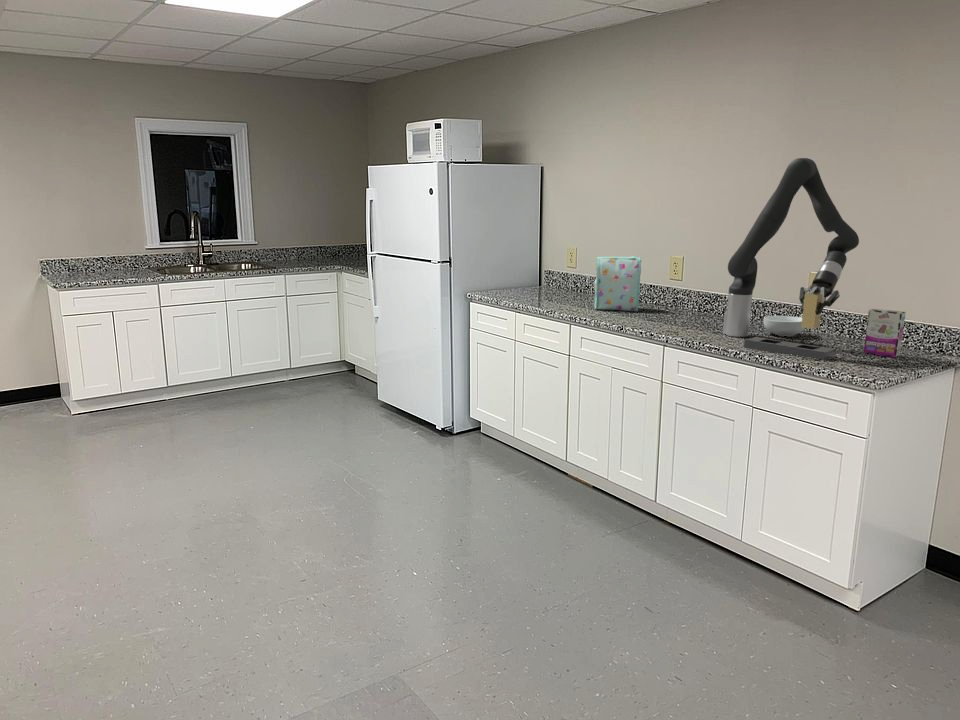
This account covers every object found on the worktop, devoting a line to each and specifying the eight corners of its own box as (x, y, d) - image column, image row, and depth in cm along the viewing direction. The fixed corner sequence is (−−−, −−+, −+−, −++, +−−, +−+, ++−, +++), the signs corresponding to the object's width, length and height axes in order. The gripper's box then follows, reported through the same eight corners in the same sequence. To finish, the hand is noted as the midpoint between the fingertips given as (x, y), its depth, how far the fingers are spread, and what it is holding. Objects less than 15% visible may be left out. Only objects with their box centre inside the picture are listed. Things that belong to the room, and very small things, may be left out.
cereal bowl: (770, 330, 319) (771, 314, 318) (810, 335, 309) (812, 318, 307) (756, 335, 306) (758, 318, 305) (797, 340, 296) (799, 323, 295)
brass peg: (801, 327, 264) (804, 293, 262) (806, 325, 267) (810, 292, 265) (813, 328, 261) (817, 295, 259) (819, 327, 264) (822, 294, 262)
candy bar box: (900, 356, 268) (906, 311, 265) (895, 358, 265) (902, 312, 261) (867, 351, 276) (873, 308, 273) (862, 353, 273) (868, 309, 269)
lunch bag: (637, 307, 380) (641, 255, 374) (640, 312, 364) (643, 257, 358) (593, 306, 383) (595, 253, 377) (593, 310, 367) (595, 256, 362)
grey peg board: (743, 347, 279) (744, 339, 278) (755, 344, 285) (755, 337, 284) (824, 360, 258) (825, 352, 257) (834, 357, 264) (835, 349, 263)
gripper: (805, 268, 270) (787, 303, 264) (845, 271, 260) (827, 308, 254) (810, 281, 275) (792, 316, 269) (850, 285, 264) (832, 321, 259)
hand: (809, 312), depth 262 cm, fingers closed on brass peg, 4 cm apart
